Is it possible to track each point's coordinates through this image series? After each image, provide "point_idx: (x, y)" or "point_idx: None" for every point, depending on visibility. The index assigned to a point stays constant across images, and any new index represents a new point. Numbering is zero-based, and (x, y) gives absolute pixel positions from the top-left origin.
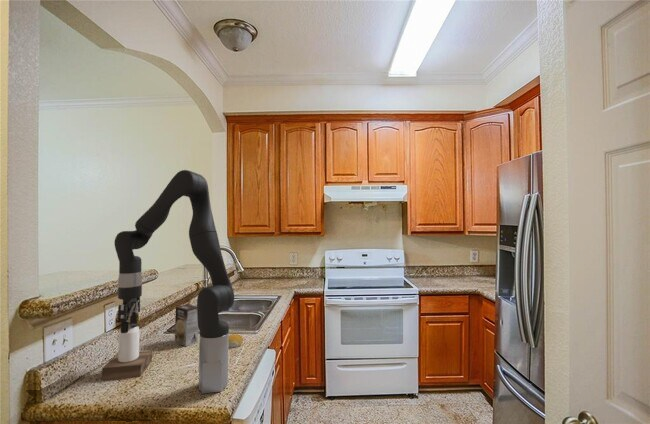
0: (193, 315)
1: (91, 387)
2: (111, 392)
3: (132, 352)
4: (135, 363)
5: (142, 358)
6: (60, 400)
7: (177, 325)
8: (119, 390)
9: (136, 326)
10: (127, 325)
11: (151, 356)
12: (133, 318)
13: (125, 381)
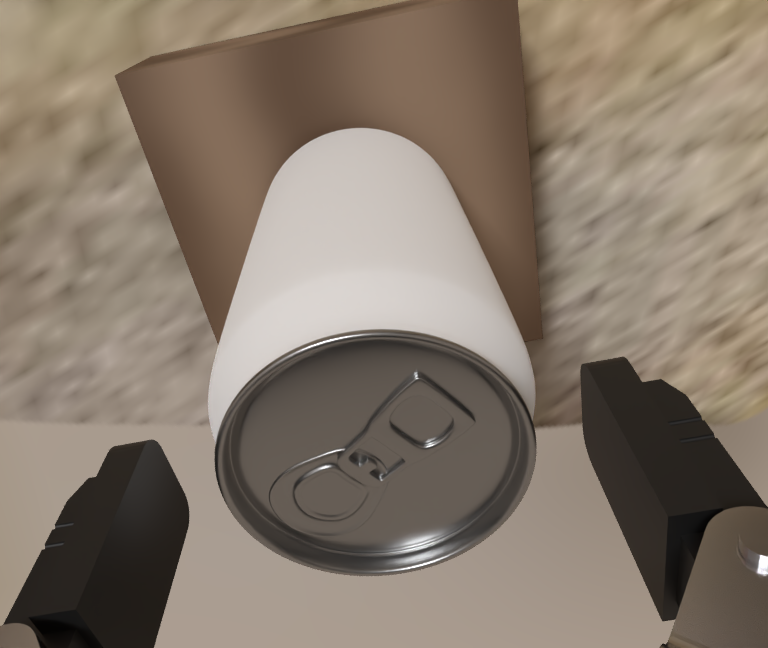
0: None
1: (627, 290)
2: (755, 86)
3: (436, 178)
4: (473, 80)
5: (338, 74)
6: (763, 362)
7: None
8: (738, 33)
9: (328, 360)
10: (679, 452)
11: (144, 63)
12: (132, 594)
13: (575, 80)
